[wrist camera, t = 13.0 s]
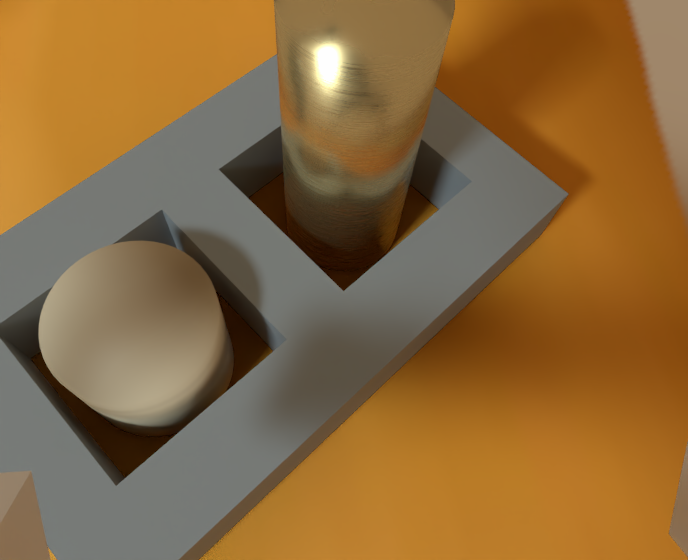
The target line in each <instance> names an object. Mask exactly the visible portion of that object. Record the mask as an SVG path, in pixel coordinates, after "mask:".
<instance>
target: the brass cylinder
mask: <svg viewBox="0 0 688 560" xmlns="http://www.w3.org/2000/svg"><path fill="white" fill-rule="evenodd" d="M274 8H275V26H276V44H277V62H278V81H279V99H280V117H281V135H282V153H283V172H284V190H285V208H286V225H287V231H288V234H289V237H290V239H291V240H292V241H293V242H294V243H295V244H296V245H297V246H298V247H299V248H300V249H301V250H302V251H303V252H304V253H305V254H306V255H307V256H308V257H309V258H310V259H311V260H312V261H313V262H314V263H315V264H316V265H318V266H321V267H324V268H327V269H331V270H339V271H349V270H356V269H360V268H363V267H366V266H369V265H371V264H372V263H374V262H376V261H377V260H379V259H380V258H381V257H382V256H383V255H385V254H386V253H387V251H388V250H389V249H390V247H391V246H392V244H393V242H394V239H395V237H396V233H397V230H398V226H399V222H400V218H401V214H402V210H403V207H404V203H405V199H406V195H407V191H408V187H409V184H410V180H411V176H412V172H413V168H414V164H415V161H416V157H417V153H418V149H419V145H420V141H421V138H422V134H423V130H424V126H425V122H426V118H427V115H428V111H429V107H430V103H431V99H432V96H433V92H434V88H435V84H436V80H437V76H438V73H439V69H440V65H441V61H442V57H443V53H444V50H445V46H446V42H447V38H448V34H449V30H450V27H451V23H452V19H453V15H454V10H455V0H274Z"/></svg>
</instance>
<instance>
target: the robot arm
mask: <svg viewBox="0 0 688 560" xmlns="http://www.w3.org/2000/svg"><path fill="white" fill-rule="evenodd" d="M669 535H670V536H671V537H672V538H673V539H674V541H675V542H676V543H677V544H678V546H679V547H680V548H681V549H682V551H683V552H684V553H685V554H686V556H687V557H688V442H687V447H686V452H685V457H684V462H683V466H682V471H681V476H680V481H679V486H678V491H677V496H676V501H675V506H674V511H673V515H672V520H671V525H670V530H669ZM0 560H50V556H49V551H48V547H47V542H46V537H45V533H44V528H43V523H42V519H41V514H40V509H39V505H38V500H37V495H36V491H35V486H34V481H33V477H32V472H31V471H20V472H6V473H0Z"/></svg>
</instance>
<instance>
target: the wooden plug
mask: <svg viewBox="0 0 688 560" xmlns="http://www.w3.org/2000/svg"><path fill="white" fill-rule="evenodd" d="M39 344H40V349H41V352H42V356H43V359H44V361H45V363H46V365H47V367H48V368H49V370H50V371H51V373H52V374H53V376H54V377H55V378H56V379H57V380H58V381H59V382H60V383H61V384H62V385H63V386H64V387H66V388H67V389H68V390H69V391H71V392H72V393H73V394H74V395H76V396H77V397H78V398H79V399H81V400H82V401H83V402H84V403H86V404H87V405H88V406H90V407H91V408H92V409H93V410H95V411H96V412H97V413H98V414H100V415H101V416H102V417H103V418H105V419H106V420H107V421H108V422H110V423H111V424H112V425H114V426H115V427H117V428H119V429H121V430H123V431H126V432H128V433H131V434H135V435H139V436H149V437H153V436H165V435H171V434H174V433H177V432H180V431H181V430H182V429H183V428H184V427H186V426H187V425H188V424H189V423H190V422H191V421H193V420H194V419H195V418H196V417H197V416H198V415H200V414H201V413H202V412H203V411H204V410H205V409H207V408H208V407H209V406H210V405H211V404H212V403H214V402H215V401H216V400H217V399H218V398H219V397H221V396H222V395H223V394H224V393H225V392H226V391H227V388H228V386H229V384H230V381H231V378H232V374H233V368H234V352H233V346H232V342H231V338H230V335H229V332H228V329H227V326H226V323H225V319H224V316H223V313H222V310H221V307H220V304H219V301H218V297H217V294H216V291H215V289H214V286H213V284H212V281H211V280H210V278H209V276H208V275H207V273H206V272H205V270H204V269H203V268H202V267H201V266H200V264H198V263H197V262H196V261H195V260H194V259H193V258H192V257H190V256H189V255H187V254H186V253H184V252H183V251H181V250H179V249H177V248H175V247H172V246H169V245H166V244H163V243H158V242H153V241H126V242H120V243H116V244H111V245H108V246H105V247H103V248H100V249H98V250H96V251H94V252H91V253H89V254H88V255H86V256H84V257H83V258H81V259H80V260H78V261H77V262H76V263H74V264H73V265H72V266H71V267H70V268H68V269H67V270H66V271H65V272H64V273H63V274H62V275H61V277H60V278H59V279H58V280H57V282H56V283H55V284H54V286H53V287H52V289H51V291H50V292H49V294H48V296H47V298H46V300H45V303H44V305H43V308H42V311H41V315H40V321H39Z"/></svg>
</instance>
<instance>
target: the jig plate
mask: <svg viewBox="0 0 688 560" xmlns="http://www.w3.org/2000/svg"><path fill="white" fill-rule="evenodd" d="M282 172H283V153H282V135H281V117H280V99H279V81H278V62H277V54H276V55H275V56H273V57H272V58H270V59H269V60H267V61H266V62H264V63H263V64H261V65H260V66H258V67H256V68H255V69H253V70H252V71H250V72H249V73H247V74H246V75H244V76H243V77H241V78H240V79H238V80H237V81H235V82H234V83H232V84H231V85H229V86H227V87H226V88H224V89H223V90H221V91H220V92H218V93H217V94H215V95H214V96H212V97H211V98H209V99H208V100H206V101H205V102H203V103H202V104H200V105H198V106H197V107H195V108H194V109H192V110H191V111H189V112H188V113H186V114H185V115H183V116H182V117H180V118H179V119H177V120H176V121H174V122H173V123H171V124H169V125H168V126H166V127H165V128H163V129H162V130H160V131H159V132H157V133H156V134H154V135H153V136H151V137H150V138H148V139H147V140H145V141H144V142H142V143H140V144H139V145H137V146H136V147H134V148H133V149H131V150H130V151H128V152H127V153H125V154H124V155H122V156H121V157H119V158H118V159H116V160H115V161H113V162H111V163H110V164H108V165H107V166H105V167H104V168H102V169H101V170H99V171H98V172H96V173H95V174H93V175H92V176H90V177H89V178H87V179H85V180H84V181H82V182H81V183H79V184H78V185H76V186H75V187H73V188H72V189H70V190H69V191H67V192H66V193H64V194H63V195H61V196H60V197H58V198H56V199H55V200H53V201H52V202H50V203H49V204H47V205H46V206H44V207H43V208H41V209H40V210H38V211H37V212H35V213H34V214H32V215H31V216H29V217H27V218H26V219H24V220H23V221H21V222H20V223H18V224H17V225H15V226H14V227H12V228H11V229H9V230H8V231H6V232H5V233H3V234H2V235H0V473H6V472H20V471H31V472H32V477H33V481H34V486H35V491H36V495H37V500H38V505H39V509H40V514H41V519H42V523H43V528H44V533H45V537H46V542H47V546H48V547H49V549H50V550H51V551H52V553H53V554H54V555H55V557H56V558H57V560H199V559H200V558H201V557H202V556H203V555H204V554H205V553H206V552H207V551H208V550H209V549H210V548H211V547H212V546H214V545H215V544H216V543H217V542H218V541H219V540H220V539H221V538H222V537H223V536H224V535H225V534H226V533H227V532H228V531H229V530H230V529H231V528H232V527H234V526H235V525H236V524H237V523H238V522H239V521H240V520H241V519H242V518H243V517H244V516H245V515H246V514H247V513H248V512H249V511H250V510H251V509H252V508H254V507H255V506H256V505H257V504H258V503H259V502H260V501H261V500H262V499H263V498H264V497H265V496H266V495H267V494H268V493H269V492H270V491H271V490H272V489H274V488H275V487H276V486H277V485H278V484H279V483H280V482H281V481H282V480H283V479H284V478H285V477H286V476H287V475H288V474H289V473H290V472H291V471H292V470H294V469H295V468H296V467H297V466H298V465H299V464H300V463H301V462H302V461H303V460H304V459H305V458H306V457H307V456H308V455H309V454H310V453H311V452H312V451H314V450H315V449H316V448H317V447H318V446H319V445H320V444H321V443H322V442H323V441H324V440H325V439H326V438H327V437H328V436H329V435H330V434H331V433H333V432H334V431H335V430H336V429H337V428H338V427H339V426H340V425H341V424H342V423H343V422H344V421H345V420H346V419H347V418H348V417H349V416H350V415H351V414H353V413H354V412H355V411H356V410H357V409H358V408H359V407H360V406H361V405H362V404H363V403H364V402H365V401H366V400H367V399H368V398H369V397H370V396H371V395H373V394H374V393H375V392H376V391H377V390H378V389H379V388H380V387H381V386H382V385H383V384H384V383H385V382H386V381H387V380H388V379H389V378H390V377H391V376H393V375H394V374H395V373H396V372H397V371H398V370H399V369H400V368H401V367H402V366H403V365H404V364H405V363H406V362H407V361H408V360H409V359H410V358H411V357H413V356H414V355H415V354H416V353H417V352H418V351H419V350H420V349H421V348H422V347H423V346H424V345H425V344H426V343H427V342H428V341H429V340H430V339H432V338H433V337H434V336H435V335H436V334H437V333H438V332H439V331H440V330H441V329H442V328H443V327H444V326H445V325H446V324H447V323H448V322H449V321H450V320H452V319H453V318H454V317H455V316H456V315H457V314H458V313H459V312H460V311H461V310H462V309H463V308H464V307H465V306H466V305H467V304H468V303H469V302H470V301H472V300H473V299H474V298H475V297H476V296H477V295H478V294H479V293H480V292H481V291H482V290H483V289H484V288H485V287H486V286H487V285H488V284H489V283H490V282H492V281H493V280H494V279H495V278H496V277H497V276H498V275H499V274H500V273H501V272H502V271H503V270H504V269H505V268H506V267H507V266H508V265H509V264H510V263H512V262H513V261H514V260H515V259H516V258H517V257H518V256H519V255H520V254H521V253H522V252H523V251H524V250H525V249H526V248H527V247H528V246H529V245H530V244H532V243H533V242H534V241H535V240H536V239H537V238H538V237H539V236H540V235H541V234H542V232H543V231H544V230H545V228H546V227H547V225H548V224H549V222H550V221H551V219H552V218H553V216H554V215H555V213H556V212H557V210H558V209H559V207H560V206H561V205H562V203H563V202H564V200H565V199H566V197H567V196H568V193H567V192H566V191H564V190H563V189H562V188H561V187H559V186H558V185H557V184H556V183H554V182H553V181H552V180H551V179H549V178H548V177H547V176H546V175H544V174H543V173H542V172H541V171H539V170H538V169H537V168H536V167H534V166H533V165H532V164H531V163H529V162H528V161H527V160H526V159H524V158H523V157H522V156H521V155H519V154H518V153H517V152H516V151H514V150H513V149H512V148H511V147H509V146H508V145H507V144H506V143H504V142H503V141H502V140H501V139H499V138H498V137H497V136H496V135H494V134H493V133H492V132H491V131H489V130H488V129H487V128H486V127H484V126H483V125H482V124H481V123H479V122H478V121H477V120H476V119H474V118H473V117H472V116H471V115H469V114H468V113H467V112H466V111H464V110H463V109H462V108H461V107H459V106H458V105H457V104H456V103H454V102H453V101H452V100H451V99H449V98H448V97H447V96H446V95H444V94H443V93H442V92H441V91H439V90H438V89H437V88H436V87H435V88H434V92H433V96H432V99H431V103H430V107H429V111H428V115H427V118H426V122H425V126H424V130H423V134H422V138H421V141H420V145H419V149H418V153H417V157H416V161H415V164H414V168H413V172H412V176H411V180H410V184H411V185H412V186H413V187H414V188H415V189H416V190H418V191H419V192H420V193H421V194H422V195H423V196H424V197H426V198H427V199H428V200H429V201H430V202H431V203H432V204H434V205H435V206H436V207H437V208H438V209H439V210H438V211H437V212H436V213H434V214H433V215H432V216H431V217H430V218H429V219H427V220H426V221H425V222H424V223H423V224H422V225H420V226H419V227H418V228H417V229H416V230H415V231H413V232H412V233H411V234H410V235H409V236H408V237H406V238H405V239H404V240H403V241H402V242H400V243H399V244H398V245H397V246H396V247H395V248H393V249H392V250H391V251H390V252H389V253H388V254H386V255H385V256H384V257H383V258H382V259H381V260H379V261H378V262H377V263H376V264H375V265H374V266H372V267H371V268H370V269H369V270H368V271H367V272H365V273H364V274H363V275H362V276H361V277H360V278H358V279H357V280H356V281H355V282H354V283H353V284H351V285H350V286H349V287H348V288H347V289H346V290H344V291H343V290H342V289H341V288H340V287H339V286H338V285H337V284H336V283H335V282H334V281H333V280H332V279H331V278H330V277H328V276H327V275H326V274H325V273H324V272H323V271H322V270H321V269H320V268H319V267H318V266H317V265H316V264H315V263H314V262H313V261H312V260H311V259H310V258H309V257H308V256H307V255H306V254H305V253H304V252H303V251H302V250H301V249H300V248H299V247H298V246H297V245H296V244H295V243H294V242H293V241H292V240H290V239H289V238H288V237H287V236H286V235H285V234H284V233H283V232H282V231H281V230H280V229H279V228H278V227H277V226H276V225H275V224H274V223H273V222H272V221H271V220H270V219H269V218H268V217H267V216H266V215H265V214H264V213H263V212H262V211H261V210H260V209H259V208H258V207H257V206H256V205H255V204H253V203H252V202H251V201H250V200H249V199H248V198H249V197H250V196H251V195H253V194H254V193H255V192H257V191H258V190H259V189H261V188H262V187H263V186H265V185H266V184H267V183H269V182H270V181H272V180H273V179H274V178H276V177H277V176H278V175H280V174H281V173H282ZM126 241H153V242H158V243H163V244H166V245H169V246H172V247H175V248H177V249H179V250H181V251H183V252H184V253H186V254H187V255H189V256H190V257H192V258H193V259H194V260H195V261H196V262H197V263H198V264H200V266H201V267H202V268H203V269H204V270H205V272H206V273H207V275H208V276H209V278H210V280H211V281H212V284H213V286H214V289H215V290H216V291H217V292H218V293H219V294H220V295H221V296H222V297H223V298H224V299H225V300H226V301H227V302H228V304H229V305H230V306H231V307H232V308H233V309H234V310H235V311H236V312H237V313H238V314H239V315H240V316H241V317H242V318H243V319H244V320H245V322H246V323H247V324H248V325H249V326H250V327H251V328H252V329H253V330H254V331H255V332H256V333H257V334H258V335H259V336H260V337H261V338H262V339H263V341H264V342H265V343H266V344H267V345H268V346H269V347H270V348H271V349H272V350H273V352H272V353H271V354H270V355H268V356H267V357H266V358H265V359H264V360H263V361H261V362H260V363H259V364H258V365H257V366H256V367H254V368H253V369H252V370H251V371H250V372H249V373H247V374H246V375H245V376H244V377H243V378H242V379H240V380H239V381H238V382H237V383H236V384H235V385H233V386H232V387H231V388H230V389H229V390H228V391H226V392H225V393H224V394H223V395H222V396H221V397H219V398H218V399H217V400H216V401H215V402H214V403H212V404H211V405H210V406H209V407H208V408H207V409H205V410H204V411H203V412H202V413H201V414H200V415H198V416H197V417H196V418H195V419H194V420H193V421H191V422H190V423H189V424H188V425H187V426H186V427H184V428H183V429H182V430H181V431H180V432H179V433H177V434H176V435H175V436H174V437H173V438H172V439H170V440H169V441H168V442H167V443H166V444H165V445H163V446H162V447H161V448H160V449H159V450H157V451H156V452H155V453H154V454H153V455H152V456H150V457H149V458H148V459H147V460H146V461H145V462H143V463H142V464H141V465H140V466H139V467H138V468H136V469H135V470H134V471H133V472H132V473H131V474H129V475H128V476H127V477H126V478H124V476H123V475H122V474H121V473H120V471H119V470H118V469H117V467H116V466H115V465H114V464H113V462H112V461H111V460H110V459H109V457H108V456H107V455H106V454H105V452H104V451H103V450H102V449H101V447H100V446H99V445H98V444H97V442H96V441H95V440H94V438H93V437H92V436H91V435H90V433H89V432H88V431H87V430H86V428H85V427H84V426H83V425H82V423H81V422H80V421H79V420H78V418H77V417H76V416H75V415H74V413H73V412H72V411H71V409H70V408H69V407H68V406H67V404H66V403H65V402H64V401H63V399H62V398H61V397H60V396H59V394H58V393H57V392H56V391H55V389H54V388H53V387H52V386H51V384H50V383H49V382H48V380H47V379H46V378H45V377H44V375H43V374H42V373H41V372H40V370H39V369H38V368H37V367H36V365H35V364H34V363H33V362H32V360H31V358H32V357H33V356H35V355H36V354H37V353H39V352H40V351H41V349H40V344H39V321H40V315H41V311H42V308H43V305H44V303H45V300H46V298H47V296H48V294H49V292H50V291H51V289H52V287H53V286H54V284H55V283H56V282H57V280H58V279H59V278H60V277H61V275H62V274H63V273H64V272H65V271H66V270H67V269H68V268H70V267H71V266H72V265H73V264H74V263H76V262H77V261H78V260H80V259H81V258H83V257H84V256H86V255H88V254H89V253H91V252H94V251H96V250H98V249H100V248H103V247H105V246H108V245H111V244H116V243H120V242H126Z"/></svg>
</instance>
